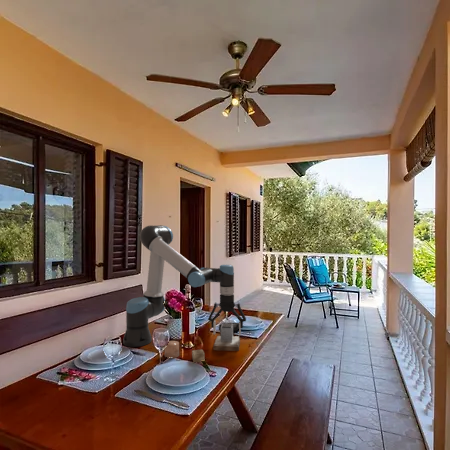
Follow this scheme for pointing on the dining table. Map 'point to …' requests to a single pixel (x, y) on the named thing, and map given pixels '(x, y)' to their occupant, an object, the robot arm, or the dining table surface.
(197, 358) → the beech block
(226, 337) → the housing
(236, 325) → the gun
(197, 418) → the dining table surface
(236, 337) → the stand
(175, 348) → the brown rounded block
